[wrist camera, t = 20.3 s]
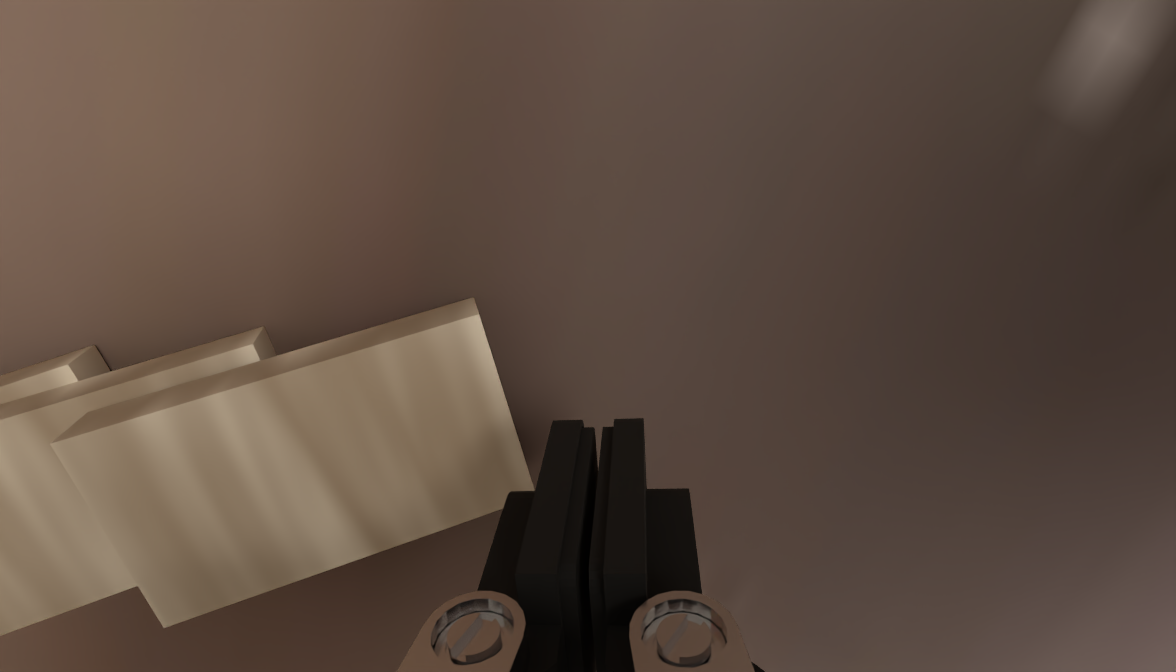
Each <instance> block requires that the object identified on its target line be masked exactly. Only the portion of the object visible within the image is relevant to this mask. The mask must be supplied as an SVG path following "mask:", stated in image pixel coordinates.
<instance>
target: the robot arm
mask: <svg viewBox="0 0 1176 672" xmlns="http://www.w3.org/2000/svg"><path fill="white" fill-rule="evenodd" d="M397 672H765V671H764V670H762V669H761V668H759V667H758V666H757V665H755V664H754V663H752V662H751V660H750V657H749V655H748V652H747V649H746V647H745V644H744V641H743V639H742V636H741V633H740V630H739V628H738V625H737V623H736V622H735V620H734V618H733V616H732V615H731V613H730V612H729V611H728V610H727V609H726V608H725V607H724V606H723V605H721V604H720V603H719V602H718V601H716V600H714V599H712V598H710V597H708V596H706V595H704V594H702V589H701V581H700V573H699V565H698V557H697V549H696V540H695V532H694V524H693V516H692V508H691V500H690V492H689V489H647V485H646V462H645V439H644V419H643V418H637V419H614V427H603V431H602V440H601V450H600V460H599V470H598V465H597V451H596V438H595V429H594V427H587V428H584V423H583V420H559V421H553V423H552V426H551V430H550V434H549V438H548V442H547V446H546V450H545V454H544V458H543V462H542V466H541V470H540V474H539V478H538V482H537V486H536V490H535V491H511V492H509V494H508V496H507V498H506V501H505V504H504V508H503V511H502V514H501V517H500V520H499V524H498V527H497V530H496V533H495V536H494V540H493V543H492V546H491V549H490V552H489V556H488V559H487V562H486V565H485V568H484V571H483V575H482V578H481V581H480V584H479V587H478V591H474V592H470V593H466V594H461V595H459V596H457V597H455V598H453V599H451V600H449V601H446V602H445V603H444V604H443V605H441V606H440V607H439V608H437V609H436V610H435V611H434V612H433V613H432V614H431V615H430V617H429V618H428V619H427V621H426V622H425V623H424V625H423V627H422V628H421V630H420V632H419V633H418V635H417V637H416V639H415V640H414V642H413V644H412V646H411V647H410V649H409V651H408V653H407V654H406V656H405V658H404V659H403V661H402V663H401V665H400V666H399V668H398V670H397Z"/></svg>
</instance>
